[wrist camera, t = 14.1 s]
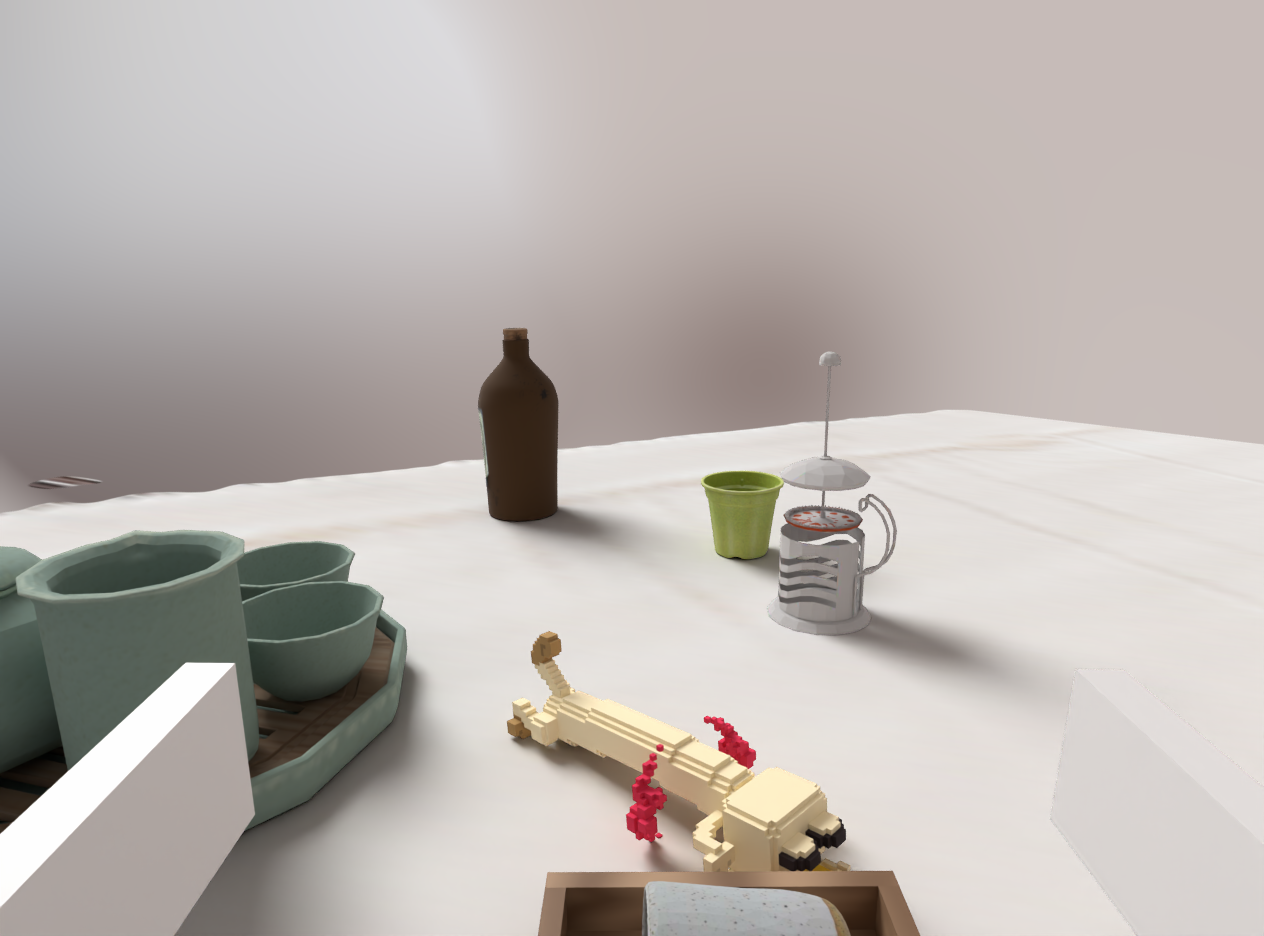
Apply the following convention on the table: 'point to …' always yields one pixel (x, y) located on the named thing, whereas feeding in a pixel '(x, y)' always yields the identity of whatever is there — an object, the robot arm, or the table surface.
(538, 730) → the cat figure
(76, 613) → the tea set
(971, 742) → the table surface
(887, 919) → the tray
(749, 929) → the ceramic mug
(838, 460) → the french press
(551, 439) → the olive oil
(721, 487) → the plant pot
